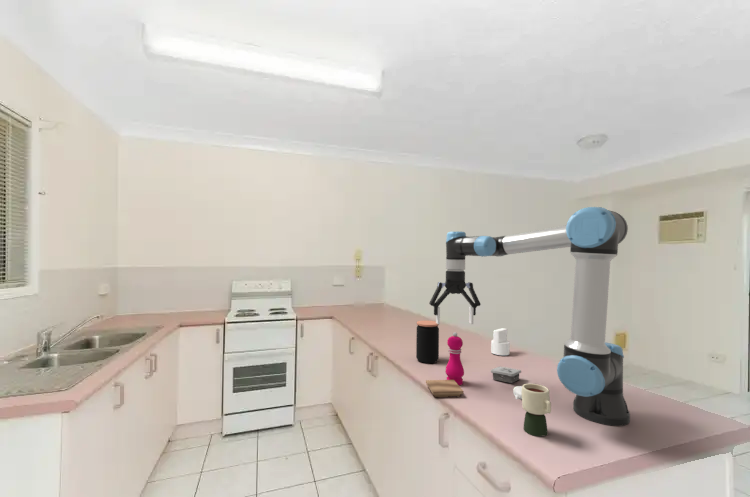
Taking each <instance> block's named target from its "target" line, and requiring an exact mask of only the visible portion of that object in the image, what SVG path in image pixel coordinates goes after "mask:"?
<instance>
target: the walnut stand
mask: <svg viewBox="0 0 750 497" xmlns="http://www.w3.org/2000/svg"><path fill="white" fill-rule="evenodd" d="M425 383H426V385H427V387H428V388H429V390H430V392H431V394H432V395H433V396H434V398H446V397H447V398H449V397H448V396H458V397H461V395H465V391H464V390H463V389H462V387H461V385H458V384H457V383H456V382H455V381H454V380H447V379H429V380H427V379H426V380H425Z"/></svg>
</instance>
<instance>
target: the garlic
mask: <svg viewBox="0 0 750 497" xmlns="http://www.w3.org/2000/svg"><path fill="white" fill-rule="evenodd" d="M522 386H523V385H517V386H515V387H514V388H513V390H512V391H513V396H514V398H515V400H522Z"/></svg>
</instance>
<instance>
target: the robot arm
mask: <svg viewBox="0 0 750 497" xmlns="http://www.w3.org/2000/svg"><path fill="white" fill-rule="evenodd" d="M628 226H629V225H628V224H627V220H626V219H625V218H624V216H623V215H621V213H619V212H616V211H613V210H610V209H609V210H608V209H606V208H605V207H602V206H587V207H584V208H583V207H582V208H581V209H579V210H577V211H575V212H574V213H573V214H571V216H570V217H569V218H568V221H567V222H566V225H559V226H555V227H554V226H553V227H548V228H542V229H535V230H532V231H531V230H530V231H525V232H521V233H520V232H519V233H513V234H507V235H501V236H494V237H493V236H491V235H490V236H489V235H476V236H475V235H474V236H471V235H470V236H467V234H466V232H465V231H448V232H447V233H446V240H445V247H446V248H445V250H446V251H445V253H446V254H445V255H446V257H445V269H446V271H445V282H440V281H438V282H437V286H436V289H435V291H434V293H433V295H432V297H431V299H430V301H429V305H430V306H432V307H433V315H434V316H435V321H436V323H437V324H439V325H440V324H441V319H440V318H441V307H440V305H441V304H442V303H443V302H444V301H445V299H446V298H447V296H449V295H450V294H451V295H455V294H457V295H462V296H463V297H464V298H465V300H466V301H467V302H468V304H469V305H470V306H469V307H468V309H469V310H468V312H469V314H468V323H469V324H470V325H474V316H476V315H477V312H476V309H477V307H480V306H481V305H482V304H481V302H480V300H479V297H478V295H477V293H476V291H475V288H474V284H473V282H470V281H469V282H466V271H465V270H466V257H468V256H469V257H470V256H471V257H481V258H482V257H504V256H507V255H516V254H523V253H525V254H526V253H531V252H538V251H539V252H540V251H541V252H542V251H547V250H555V249H564V248H570V252H569V253H570V255H572V257H573V258H574V259H575V263H574V264H575V265H574V266H575V267H574V279H573V281H574V282H573V296H572V311H571V312H572V313H571V326H570V338H569V339H567V340H565V341H564V343H563V344H564V345H563V357H562V358H560V360H559V362H558V363H557V365H556V366H557V367H556V373H557V377H558V379H559V381H560V383H561V384H562V385H563V386H564V387H565V388H566V390H568V391H569V392H570V393H572V394H574V395H575V396H574V399H573V402H572V406H573V407H572V410H573V411H574V412H575V414H577V415H578V416H579V417H581V418H584V419H586V420H588V421H591V422H593V423H598V424H602V425H606V426H614V427H615V426H617V427H618V426H626V425H629V424H630V422H631V414H630V410H629V408H628V404H627V402H626V399H625V397H624V358H625V356H624V351H623V347H621V346H620V345H619V344H614V343H611V342H606V334H607V332H606V330H607V315H608V302H609V301H608V300H609V290H610V289H609V286H610V274H611V271H610V269H611V261H612V260H614V259H615V258H616V257H617V256H618V254H619V253H618V250H619V249H618V248H619V245H620V243H622V242H623V241H624V240H625V238H626V237H627V235H628V232H629V231H628V230H629V227H628ZM444 287H445V290H444V291H443V293H442V294H441V295H440V293H441V291H442V289H443V288H444ZM465 288H467V289H468V291H469V293H470V296H471V297H470V296H469V294H468V293H467V292H466V291H465ZM439 295H440V296H439ZM472 299H473V300H472Z"/></svg>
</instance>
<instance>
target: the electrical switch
mask: <svg viewBox="0 0 750 497" xmlns="http://www.w3.org/2000/svg"><path fill="white" fill-rule="evenodd" d="M490 373H492V380H496V381H499V382H504V383H509V384H514V383H515V382H517V381H519V380H520V374H521V373H522V369H516V368H511V367H506V366H501V365H500V366H497V367H494V368H492V369H490Z"/></svg>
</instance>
